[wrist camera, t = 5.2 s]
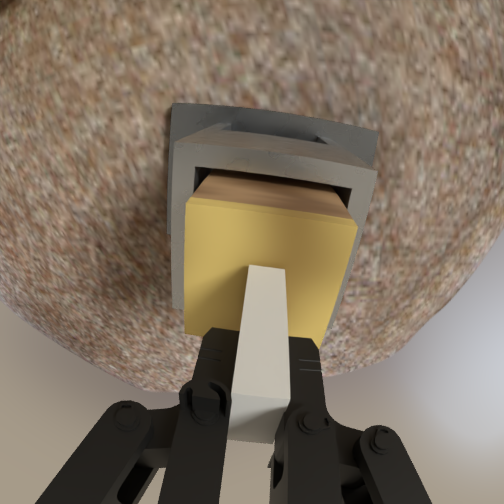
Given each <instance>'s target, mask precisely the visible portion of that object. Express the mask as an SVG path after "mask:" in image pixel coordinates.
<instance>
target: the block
mask: <svg viewBox="0 0 504 504" xmlns="http://www.w3.org/2000/svg"><path fill="white" fill-rule="evenodd" d="M357 229H358V226H357V225H356V223H355V221H354V220H353V218H352V217H351V215H350V213H349V212H348V210H347V209H346V207H345V206H344V204H343V203H342V201H341V200H340V198H339V196H338V195H337V193H336V192H335V190H334V189H333V187H332V186H331V185H330V184H325V183H319V182H313V181H307V180H300V179H294V178H287V177H281V176H274V175H266V174H259V173H251V172H243V171H235V170H226V169H217V168H214V169H213V170H212V171H211V172H210V174H209V175H208V176H207V177H206V179H205V180H204V181H203V182H202V183H201V185H200V186H199V187H198V188H197V190H196V191H195V192H194V193H193V195H192V196H191V197H190V198H189V200H188V201H187V202H186V210H185V244H184V322H185V334H190V335H196V336H204V335H205V334H206V333H207V332H208V331H209V330H210V329H211V328H212V327H215V328H222V329H229V330H236V331H240V327H241V320H242V312H243V305H244V298H245V291H246V284H247V277H248V269H249V265H256V266H264V267H271V268H279V269H285V281H286V299H287V319H288V336H293V337H303V338H312V340H313V341H314V343H315V344H316V346H317V347H318V349H319V348H320V345H321V343H322V340H323V337H324V334H325V332H326V329H327V326H328V323H329V320H330V317H331V314H332V311H333V308H334V305H335V302H336V299H337V296H338V293H339V290H340V287H341V284H342V281H343V277H344V274H345V271H346V268H347V264H348V261H349V258H350V254H351V251H352V247H353V244H354V240H355V236H356V233H357Z"/></svg>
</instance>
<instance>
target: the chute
mask: <svg viewBox="0 0 504 504" xmlns="http://www.w3.org/2000/svg"><path fill="white" fill-rule="evenodd" d="M378 134H379V132H377V131H373V130H369V129H365V128H361V127H357V126H352V125H348V124H343V123H339V122H334V121H329V120H324V119H318V118H313V117H307V116H302V115H296V114H289V113H283V112H276V111H268V110H260V109H252V108H243V107H233V106H221V105H208V104H190V103H172V113H171V127H170V142H169V161H168V189H167V234H169V235H171V279H172V308H174V309H180V310H184V244H185V210H186V202H187V201H188V200H189V198H190V197H191V196H192V195H193V193H194V192H195V191H196V190H197V188H198V187H199V186H200V185H201V183H202V182H203V181H204V180H205V179H206V177H207V176H208V175H209V174H210V172H211V171H212V170H213V169H214V168H217V169H226V170H235V171H243V172H251V173H259V174H266V175H274V176H281V177H287V178H294V179H300V180H307V181H313V182H319V183H325V184H330V185H331V186H332V187H333V189H334V190H335V192H336V193H337V195H338V196H339V198H340V200H341V201H342V203H343V204H344V206H345V207H346V209H347V210H348V212H349V213H350V215H351V217H352V218H353V220H354V221H355V223H356V225H357V226H358V229H357V233H356V236H355V240H354V244H353V247H352V251H351V254H350V258H349V261H348V264H347V268H346V271H345V274H344V277H343V281H342V284H341V287H340V290H339V293H338V296H337V299H336V302H335V305H334V308H333V311H332V314H331V317H330V320H329V323H328V326H327V328H330V329H332V326H333V323H334V320H335V318H336V315H337V312H338V309H339V306H340V303H341V300H342V297H343V294H344V291H345V288H346V285H347V282H348V279H349V276H350V273H351V269H352V266H353V263H354V260H355V256H356V253H357V250H358V246H359V243H360V239H361V236H362V232H363V229H364V225H365V221H366V218H367V214H368V210H369V206H370V202H371V198H372V194H373V190H374V186H375V182H376V177H377V173H378V171H377V170H375V169H374V168H373V167H372V164H373V159H374V154H375V149H376V144H377V139H378Z"/></svg>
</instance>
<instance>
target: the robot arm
mask: <svg viewBox="0 0 504 504" xmlns="http://www.w3.org/2000/svg"><path fill="white" fill-rule="evenodd" d="M179 400H180V404H178V405H177V406H174V407H172V408H167V409H154V410H147V409H146V408H145V407H144V406H143V405H141V404H140V403H137V402H134V401H131V400H130V401H120V402H117V403H114V404H113V405H111V406H110V407H109V408H108V409H107V410H106V412H105V413H104V414H103V415H102V416H101V418H100V419H99V420H98V422H97V423H96V424H95V425H94V427H93V428H92V430H91V431H90V432H89V433H88V435H87V436H86V437H85V438H84V440H83V441H82V442H81V444H80V445H79V446H78V447H77V449H76V450H75V452H74V453H73V454H72V455H71V457H70V458H69V459H68V461H67V462H66V463H65V465H64V466H63V467H62V469H61V470H60V471H59V472H58V474H57V475H56V477H55V478H54V479H53V480H52V482H51V483H50V484H49V486H48V487H47V488H46V490H45V491H44V492H43V494H42V495H41V496H40V498H39V499H38V500H37V502H36V503H35V504H138V503H139V501H140V499H141V497H142V496H143V494H144V493H145V491H146V489H147V488H148V486H149V484H150V483H151V481H152V479H153V478H154V476H155V474H156V472H157V471H158V469H159V468H166V471H165V475H164V479H163V483H162V487H161V492H160V496H159V501H158V504H219V497H220V489H221V481H222V473H223V465H224V458H225V450H226V443H227V439H229V440H237V441H246V442H256V443H268V444H273V441H274V439H275V451H274V453H273V455H272V457H271V459H270V461H269V464H268V468H271V481H270V502H269V504H432V503H431V500H430V498H429V496H428V494H427V492H426V490H425V488H424V486H423V484H422V482H421V479H420V477H419V475H418V473H417V471H416V469H415V467H414V465H413V463H412V461H411V459H410V457H409V455H408V453H407V451H406V449H405V447H404V445H403V443H402V442H401V439H400V437H399V436H398V435H397V434H396V432H395V431H394V430H392V429H390V428H389V427H386V426H382V425H376V426H371V427H369V428H367V429H366V430H365V431H360V430H356V429H352V428H349V427H346V426H343V425H341V424H339V423H338V422H336V421H334V419H333V418H332V417H331V416H330V415H329V413H328V411H327V408H326V403H325V395H324V387H323V379H322V372H321V363H320V356H319V349H318V347H317V346H316V344H315V343H314V341H313V340H312V338H303V337H293V336H288V319H287V299H286V281H285V269H279V268H271V267H264V266H256V265H249V269H248V277H247V284H246V291H245V298H244V305H243V312H242V320H241V327H240V331H236V330H229V329H222V328H215V327H212V328H211V329H210V330H209V331H208V332H207V333H206V334H205V335H204V336H203V340H202V343H201V347H200V351H199V355H198V359H197V362H196V366H195V370H194V374H193V377H192V380H190V381H189V382H187V383H186V384H184V385H183V386H182V388H181V390H180V392H179Z"/></svg>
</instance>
